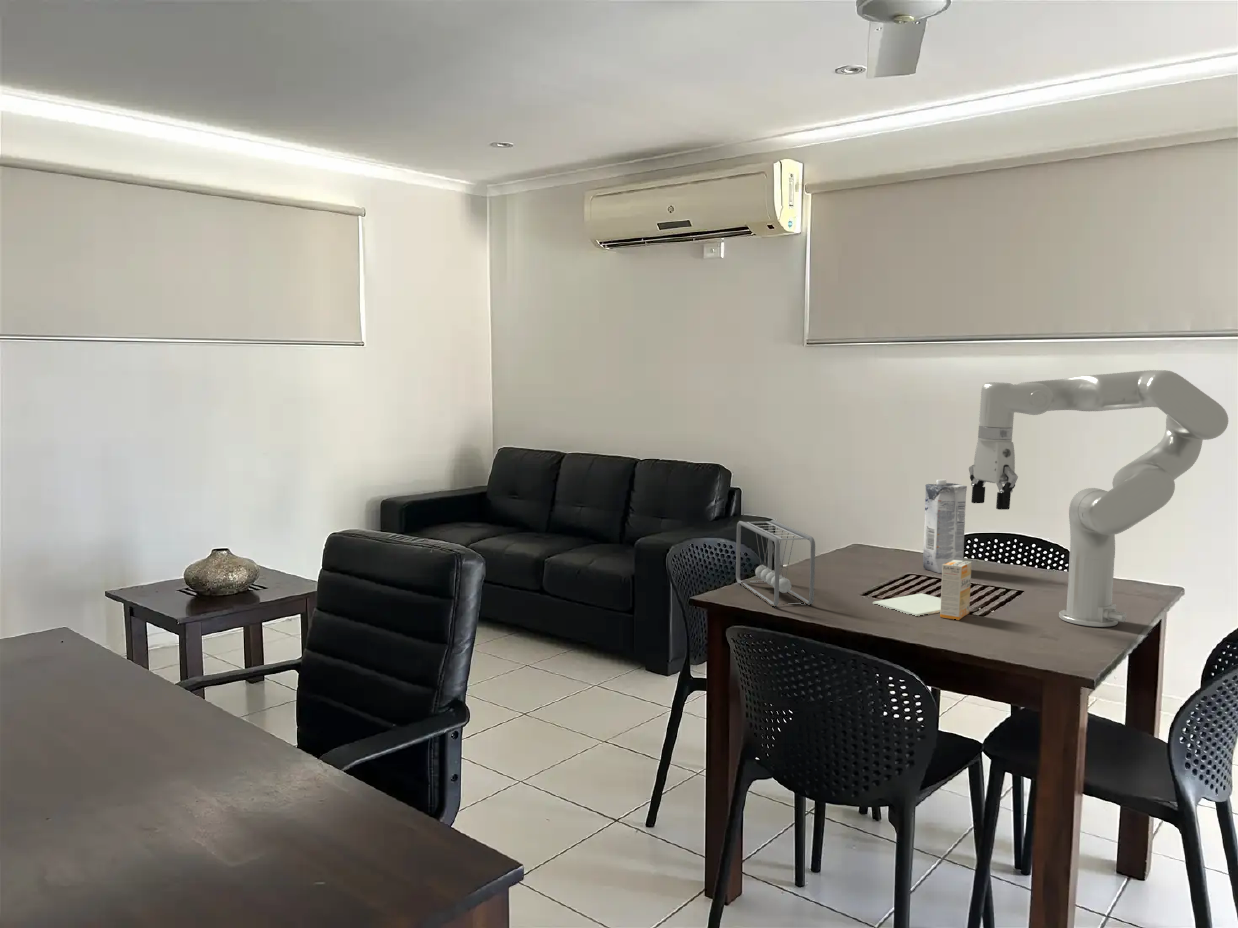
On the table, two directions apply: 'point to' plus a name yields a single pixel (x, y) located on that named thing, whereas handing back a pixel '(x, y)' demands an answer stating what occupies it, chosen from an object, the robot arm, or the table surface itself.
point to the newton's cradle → (767, 573)
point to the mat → (913, 604)
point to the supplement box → (955, 589)
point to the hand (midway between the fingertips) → (990, 506)
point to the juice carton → (943, 524)
